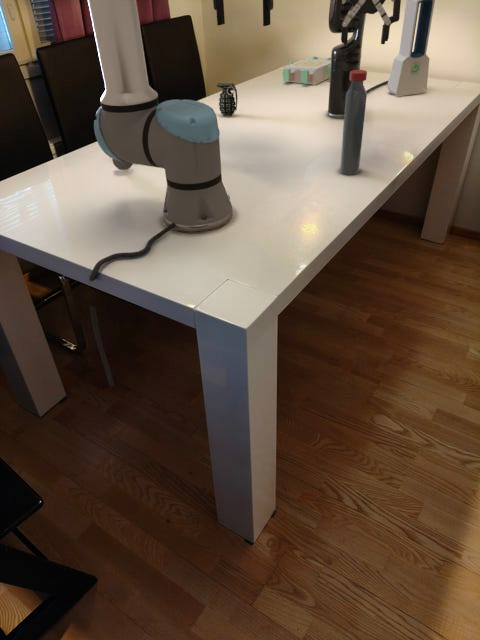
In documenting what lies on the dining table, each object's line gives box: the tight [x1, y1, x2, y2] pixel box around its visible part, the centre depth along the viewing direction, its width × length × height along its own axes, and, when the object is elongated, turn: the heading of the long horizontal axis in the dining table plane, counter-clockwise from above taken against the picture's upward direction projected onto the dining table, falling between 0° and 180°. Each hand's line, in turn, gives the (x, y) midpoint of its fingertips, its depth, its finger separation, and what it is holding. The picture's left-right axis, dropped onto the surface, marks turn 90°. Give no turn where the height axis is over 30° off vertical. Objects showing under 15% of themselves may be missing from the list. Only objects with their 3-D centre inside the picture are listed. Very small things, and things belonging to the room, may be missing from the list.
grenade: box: [215, 82, 238, 117], centre depth 166 cm, size 7×6×10 cm
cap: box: [349, 69, 368, 82], centre depth 111 cm, size 4×4×2 cm
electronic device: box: [387, 0, 436, 97], centre depth 173 cm, size 12×8×30 cm, turn 105°
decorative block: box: [282, 56, 331, 85], centre depth 205 cm, size 26×6×20 cm
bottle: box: [339, 81, 368, 176], centre depth 117 cm, size 5×5×23 cm
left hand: (243, 25), depth 128 cm, fingers open, 13 cm apart
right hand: (363, 44), depth 113 cm, fingers open, 8 cm apart
